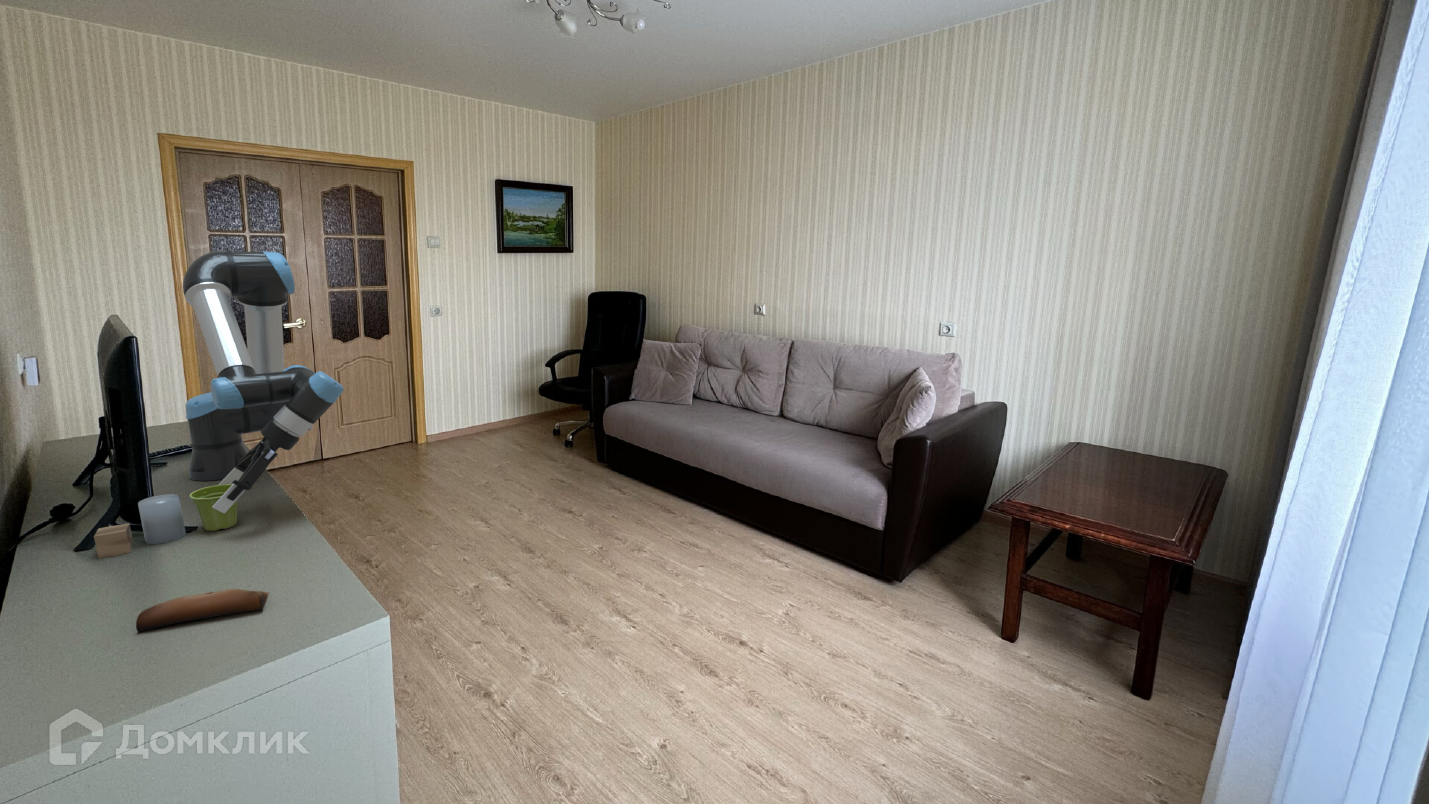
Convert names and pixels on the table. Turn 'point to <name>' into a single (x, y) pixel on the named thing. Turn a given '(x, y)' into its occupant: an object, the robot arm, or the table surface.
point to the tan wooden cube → (113, 540)
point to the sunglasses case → (200, 607)
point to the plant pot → (209, 515)
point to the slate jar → (161, 518)
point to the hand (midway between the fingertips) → (219, 501)
